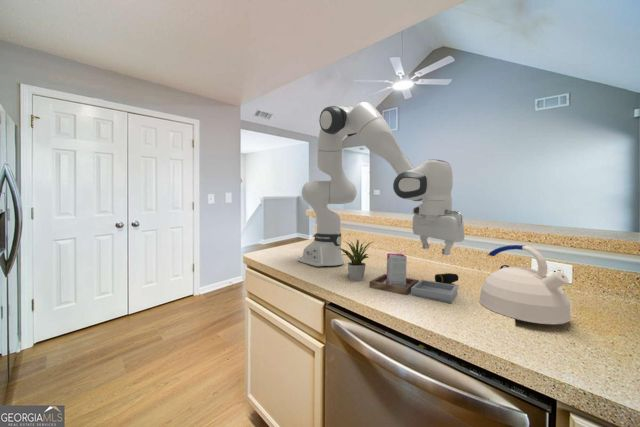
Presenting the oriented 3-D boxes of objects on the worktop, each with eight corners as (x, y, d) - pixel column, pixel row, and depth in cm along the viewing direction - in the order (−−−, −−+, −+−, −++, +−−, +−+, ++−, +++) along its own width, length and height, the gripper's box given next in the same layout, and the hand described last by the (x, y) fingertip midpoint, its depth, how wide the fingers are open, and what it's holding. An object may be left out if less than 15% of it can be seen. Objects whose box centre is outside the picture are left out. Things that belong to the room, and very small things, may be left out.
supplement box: (406, 289, 88) (407, 256, 88) (389, 288, 89) (389, 256, 88) (402, 284, 94) (402, 253, 94) (385, 283, 94) (386, 253, 94)
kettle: (536, 330, 59) (538, 253, 59) (462, 299, 79) (464, 241, 79) (593, 320, 65) (595, 249, 64) (511, 293, 85) (512, 239, 84)
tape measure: (460, 283, 91) (458, 272, 92) (445, 285, 89) (443, 274, 90) (446, 282, 97) (444, 272, 98) (432, 285, 95) (430, 274, 96)
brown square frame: (369, 287, 90) (369, 281, 90) (384, 279, 100) (384, 274, 100) (406, 295, 82) (406, 289, 82) (418, 285, 92) (418, 279, 92)
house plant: (364, 273, 110) (364, 235, 109) (384, 281, 97) (384, 239, 96) (334, 276, 104) (334, 236, 104) (351, 285, 91) (351, 240, 91)
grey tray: (411, 295, 82) (411, 287, 82) (421, 286, 91) (421, 279, 91) (450, 303, 75) (451, 295, 75) (457, 293, 84) (457, 285, 84)
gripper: (470, 210, 74) (469, 258, 74) (424, 208, 93) (423, 246, 94) (452, 210, 72) (451, 259, 73) (409, 208, 92) (408, 246, 92)
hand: (435, 251), depth 84 cm, fingers open, 8 cm apart
